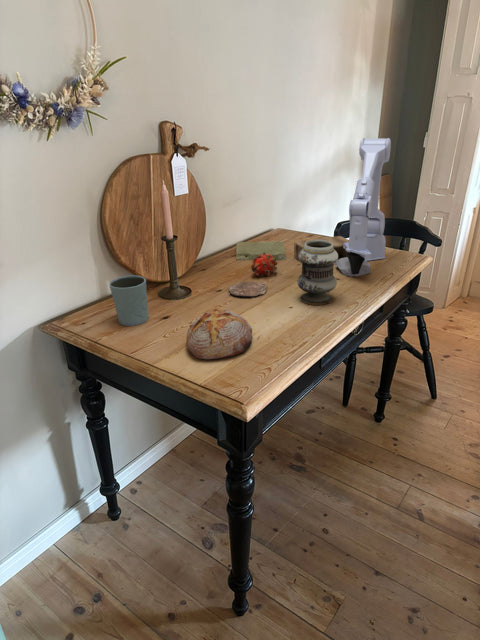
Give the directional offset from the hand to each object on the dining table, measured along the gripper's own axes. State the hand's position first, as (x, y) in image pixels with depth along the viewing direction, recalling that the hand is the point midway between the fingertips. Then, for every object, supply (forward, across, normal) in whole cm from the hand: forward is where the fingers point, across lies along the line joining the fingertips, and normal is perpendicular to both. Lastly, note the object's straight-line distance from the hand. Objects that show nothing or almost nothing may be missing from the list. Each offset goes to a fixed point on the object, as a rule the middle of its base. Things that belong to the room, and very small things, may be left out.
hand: (355, 273), depth 163 cm
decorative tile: (+2, -39, -20) cm, 44 cm away
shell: (+2, -3, -39) cm, 39 cm away
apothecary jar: (+2, +12, -21) cm, 24 cm away
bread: (+2, +29, -58) cm, 65 cm away
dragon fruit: (+2, -15, -28) cm, 32 cm away
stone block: (+2, -6, +2) cm, 7 cm away
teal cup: (+2, +5, -77) cm, 77 cm away
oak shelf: (+1, -23, 0) cm, 23 cm away
